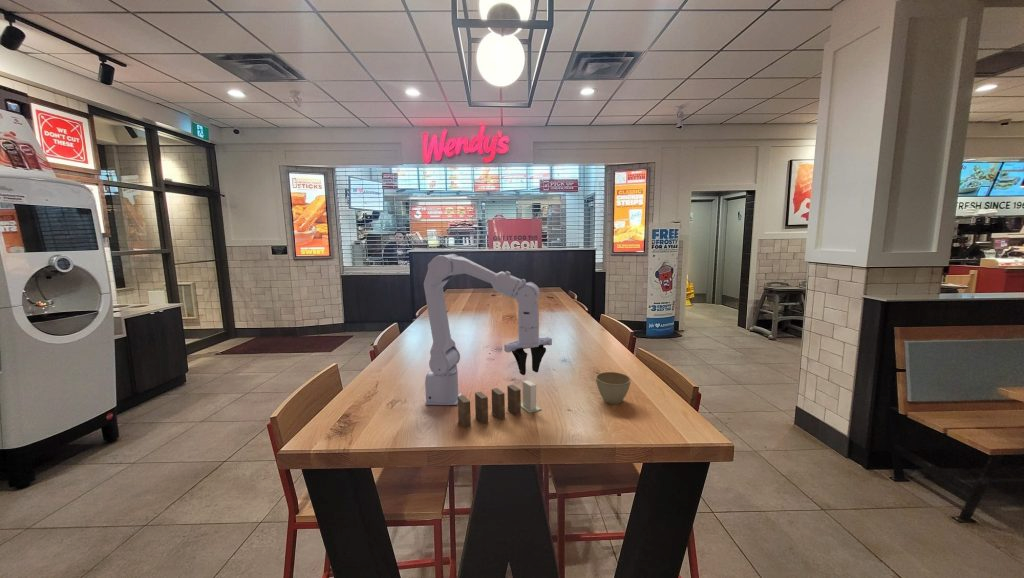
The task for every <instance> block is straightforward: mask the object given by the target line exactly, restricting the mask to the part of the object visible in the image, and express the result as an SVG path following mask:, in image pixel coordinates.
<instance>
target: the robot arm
mask: <svg viewBox="0 0 1024 578" xmlns="http://www.w3.org/2000/svg"><path fill="white" fill-rule="evenodd" d="M463 274H465V275H469V276H472V277H473V278H476V279H479V280H481V281H483V282H486V283H488V284H491V286H492V288H493V290H494V291H496V292H498V293H499V294H500V293H501V294H502V295H505V296H507V297H509V298H512V299H513V300H514V299H515V300H516V301H517V303H518V311H517V312H518V314H517V316H518V329H517V330H518V331H517V332H518V340H515V341H512V342H509V343H504V352H506V353H512V354H513V357H514V358H515V361H516V364H517V366H518V371H519V374H520V375H522V376H525V375H526V372H527V365H526V363H527V358H528V353H527V352H526V351H525V350H527V349H529V350H530V353H531V368H532V371H533V372H534V373H539V370H540V366H541V362H542V360H543V357H544V356H545V353H546V352H547V348H546V347H545V346H552V345H553V339H552V338H551V337H548V336H547V337H539V336H540V335H539V334H540V331H539V329H540V328H539V327H540V325H539V323H540V318H539V317H540V314H539V313H540V311H539V300H538V299H539V298H540V295H541V291H540V287H539V286H538V285H537V284H535V283H534V282H533V281H528V282H527V280H526V279H524V278H522V279H521V278H518V277H516V276H514V275H511V274H512V273H511V272H510V271H508V270H506V271H499V272H494V271H493V270H491V269H488V268H487V267H484V266H483V265H480V264H478V263H476V262H474V261H472V260H470V259H468V258H466V257H465V256H459V255H457V254H455V253H450V254H449V253H448V254H445V255H444V254H443V255H442V254H439V255H437V256H435V257H433V258H432V259H431V261H429V262H428V264H427V272H426V274H425V277H424V281H423V288H424V294H425V301H426V307H427V313H428V318H429V325H430V326H429V327H430V331H431V338H432V345H431V348H430V351H429V352H430V353H429V354H430V358H429V362H428V366H429V369H430V371H428V372H427V373H426V376H425V378H424V379H425V381H424V386H425V388H424V389H425V406H431V405H432V406H458V396H463V394H462V392H459V377H458V376H459V374H458V373H459V372H458V365H457V364H459V363H460V360H461V353H460V351H459V349H457V346H456V342H455V341H454V340H453V339H452V335H451V329H450V323H449V318H448V311H447V305H446V298H445V293H444V287H445V286H446V284H447V283H448V281H450V279H451V278H453V277H455V276H457V275H463Z"/></svg>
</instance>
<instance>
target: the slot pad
mask: <svg viewBox="0 0 1024 578" xmlns="http://www.w3.org/2000/svg"><path fill="white" fill-rule="evenodd" d="M521 409H523V410H524V411H526V412H527V413H529V414H532V413H535V412H539V411H541V410H542V408H541V407H540V406H538V405H536V409H532V410H530V409H529V408H528V407H526V406H525V405H523V402H521Z"/></svg>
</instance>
